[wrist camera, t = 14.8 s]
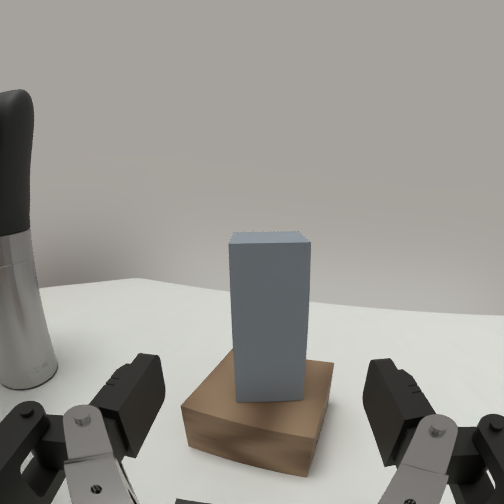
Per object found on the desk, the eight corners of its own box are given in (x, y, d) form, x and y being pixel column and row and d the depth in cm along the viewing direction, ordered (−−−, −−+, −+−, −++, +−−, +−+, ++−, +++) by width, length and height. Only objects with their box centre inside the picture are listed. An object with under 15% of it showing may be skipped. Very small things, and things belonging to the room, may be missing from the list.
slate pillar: (236, 402, 21) (228, 243, 18) (238, 367, 26) (233, 232, 23) (302, 399, 21) (310, 242, 18) (294, 365, 26) (298, 231, 23)
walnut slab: (188, 446, 21) (180, 405, 20) (235, 386, 30) (233, 347, 29) (306, 477, 18) (314, 438, 17) (327, 403, 27) (334, 363, 26)
